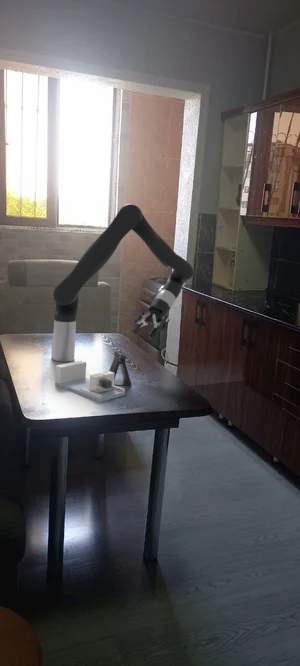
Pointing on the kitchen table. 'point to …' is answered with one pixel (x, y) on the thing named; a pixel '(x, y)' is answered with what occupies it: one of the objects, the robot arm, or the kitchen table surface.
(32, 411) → the kitchen table surface
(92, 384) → the block
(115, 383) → the phone stand
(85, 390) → the vise body
